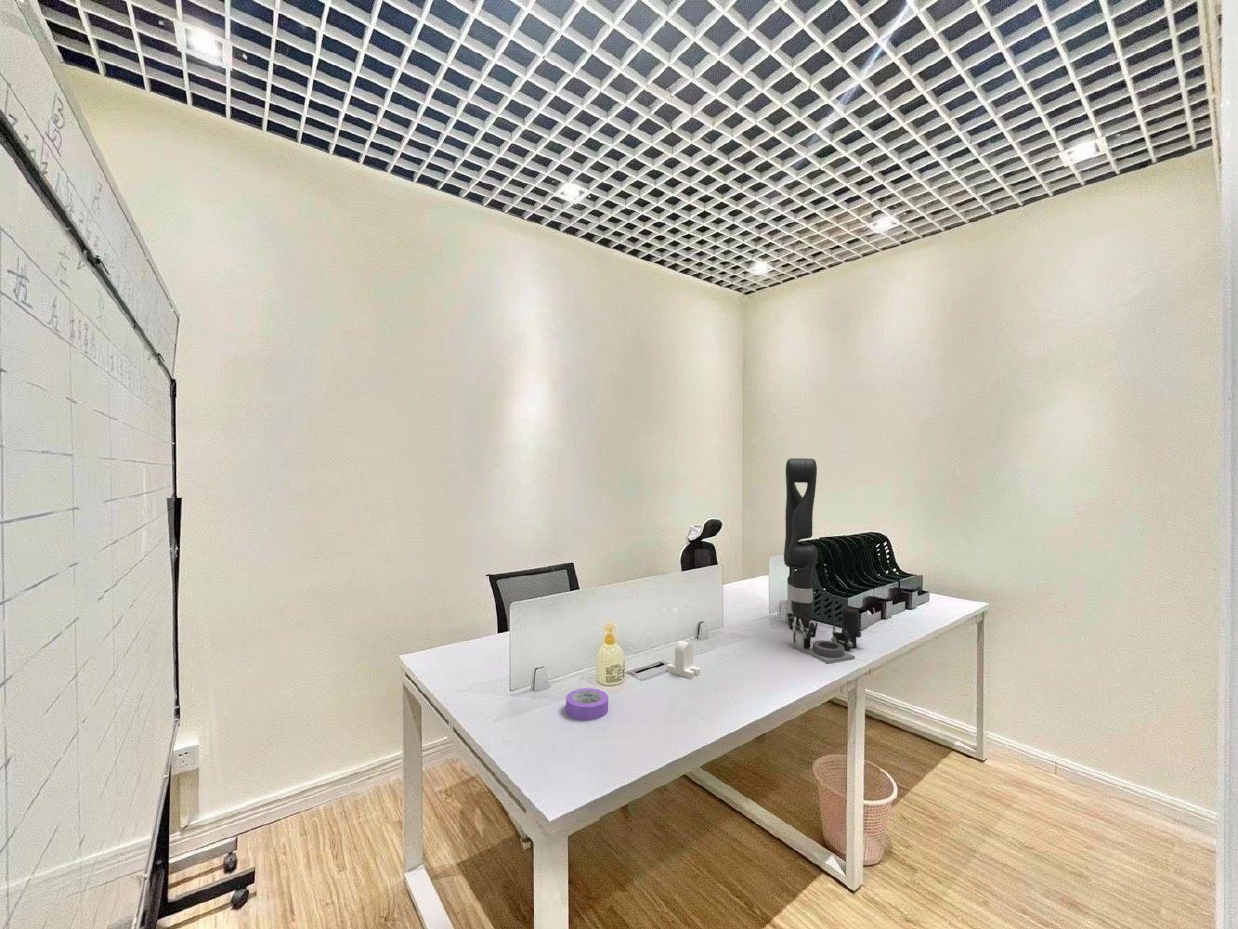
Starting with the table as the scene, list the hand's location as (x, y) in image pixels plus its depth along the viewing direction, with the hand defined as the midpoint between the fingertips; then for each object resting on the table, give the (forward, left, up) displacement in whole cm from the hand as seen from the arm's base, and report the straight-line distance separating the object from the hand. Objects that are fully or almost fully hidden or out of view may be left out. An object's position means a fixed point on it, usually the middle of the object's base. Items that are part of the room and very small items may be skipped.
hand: (801, 645), depth 192 cm
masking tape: (+17, -88, -2) cm, 90 cm away
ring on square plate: (+9, +4, -1) cm, 10 cm away
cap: (0, 0, -1) cm, 1 cm away
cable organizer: (+4, -51, -1) cm, 51 cm away
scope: (+5, +17, -1) cm, 18 cm away
